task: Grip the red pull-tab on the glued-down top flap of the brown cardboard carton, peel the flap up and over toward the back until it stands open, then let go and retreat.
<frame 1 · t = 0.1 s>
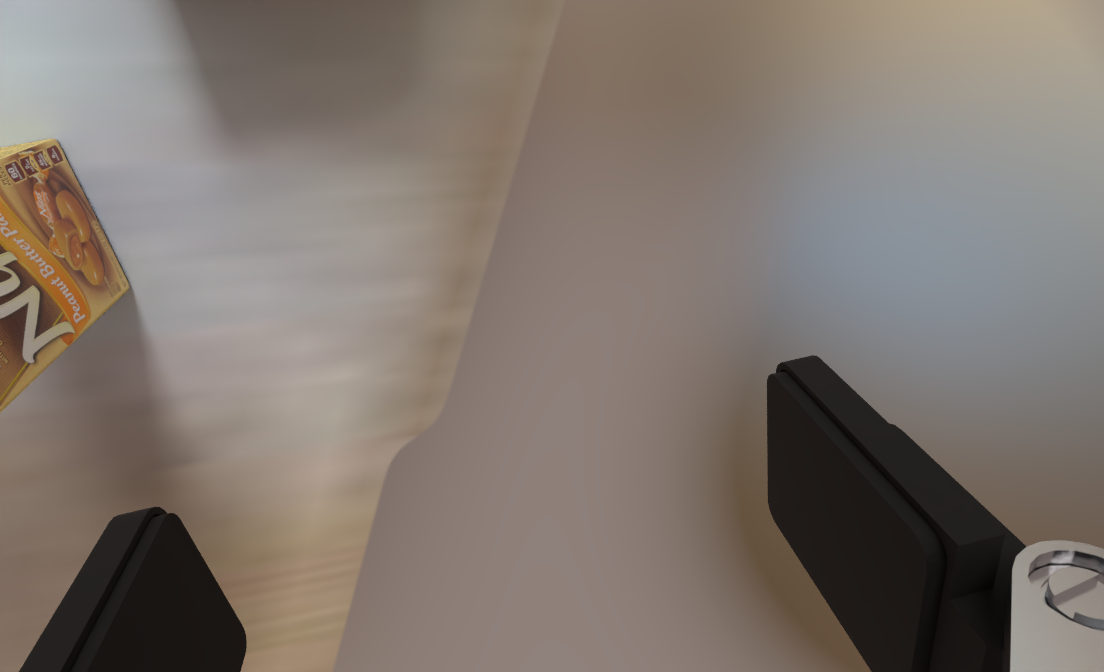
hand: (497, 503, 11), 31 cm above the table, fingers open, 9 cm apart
candy box: (61, 221, 37), on the table
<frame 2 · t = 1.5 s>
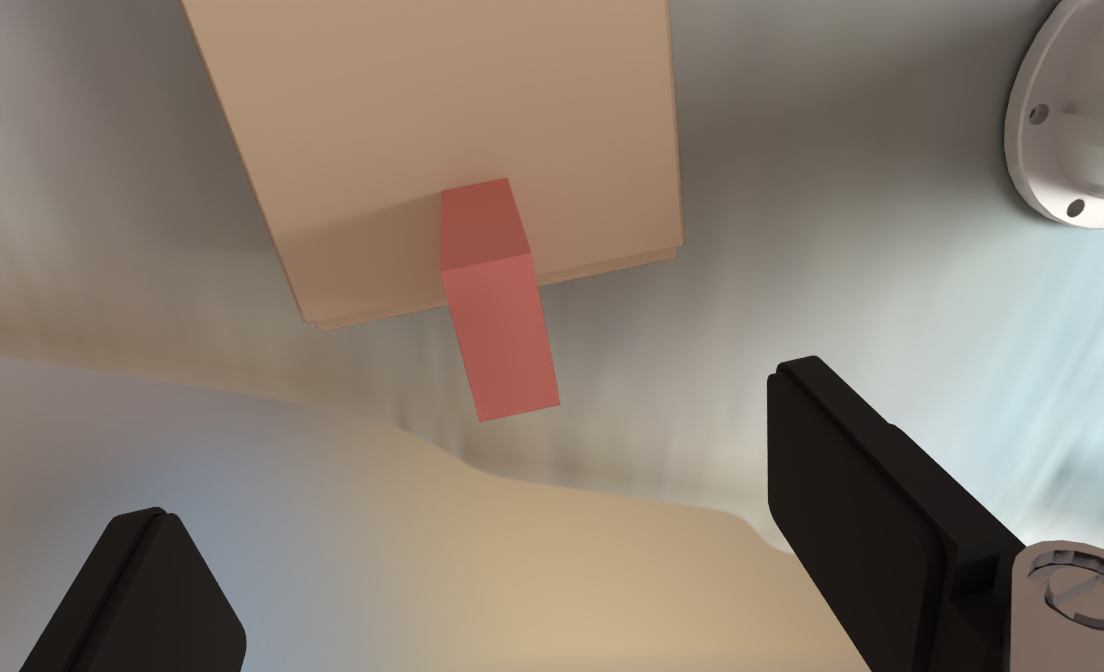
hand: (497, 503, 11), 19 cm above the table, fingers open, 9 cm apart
glued flap: (461, 134, 16), point 11 cm above the table, hinge at 0.0°
carton: (453, 69, 25), on the table
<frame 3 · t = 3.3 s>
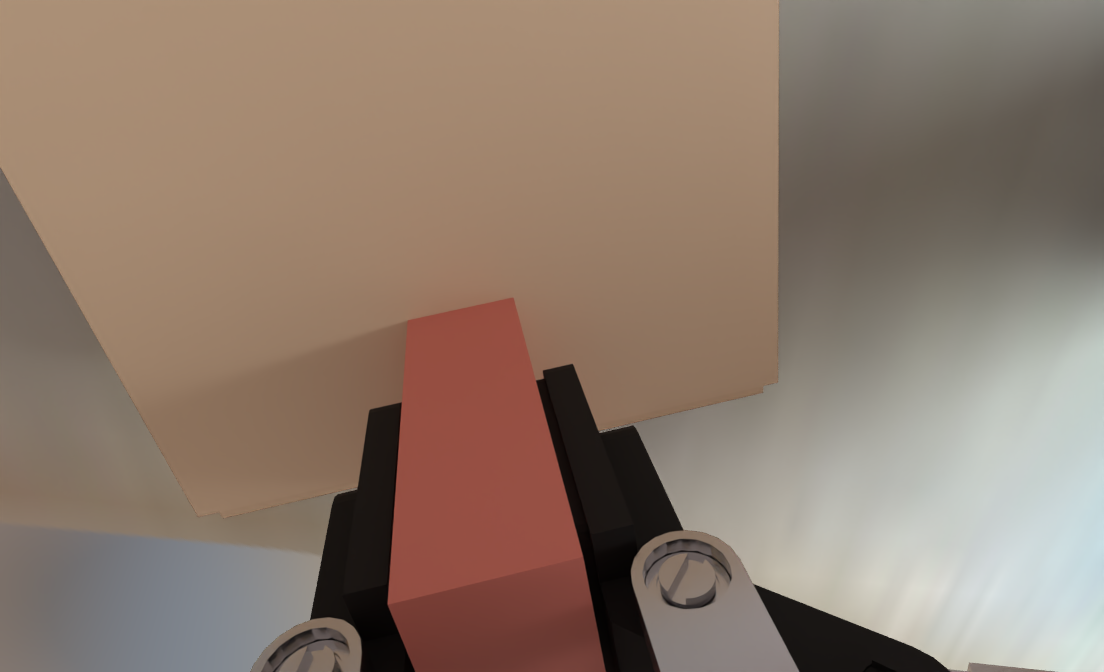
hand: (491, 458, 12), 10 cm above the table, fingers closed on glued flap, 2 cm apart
glued flap: (434, 266, 9), point 11 cm above the table, hinge at 0.0°, touching gripper
carton: (428, 107, 18), on the table
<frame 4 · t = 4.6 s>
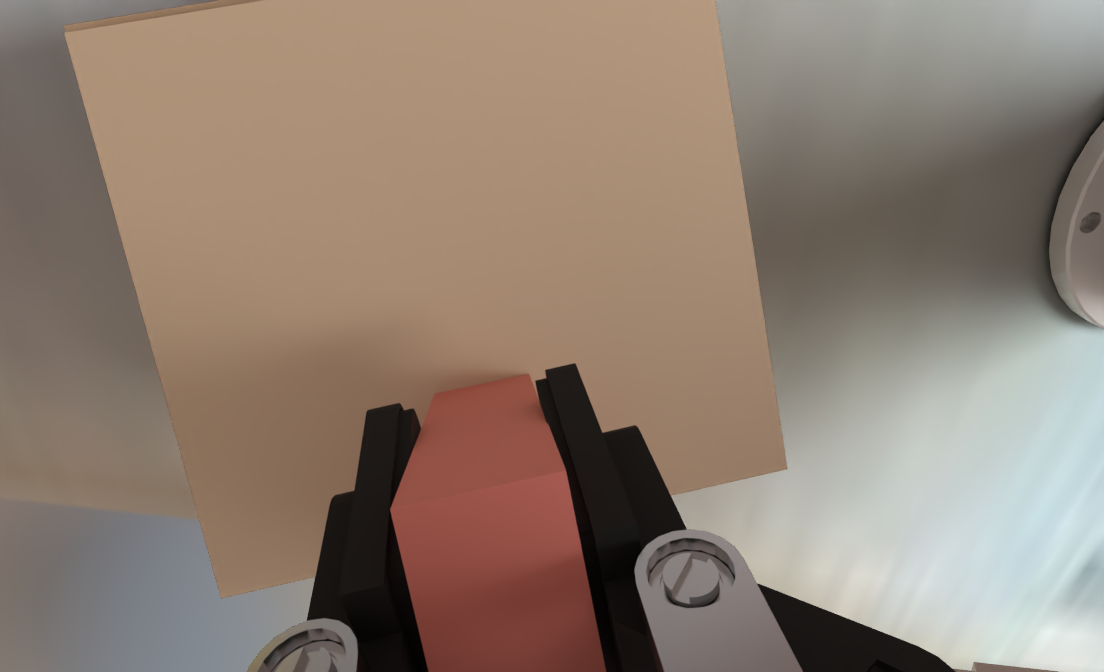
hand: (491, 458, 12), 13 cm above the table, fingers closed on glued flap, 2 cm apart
glued flap: (454, 294, 11), point 13 cm above the table, hinge at 21.2°, touching gripper
carton: (450, 177, 22), on the table
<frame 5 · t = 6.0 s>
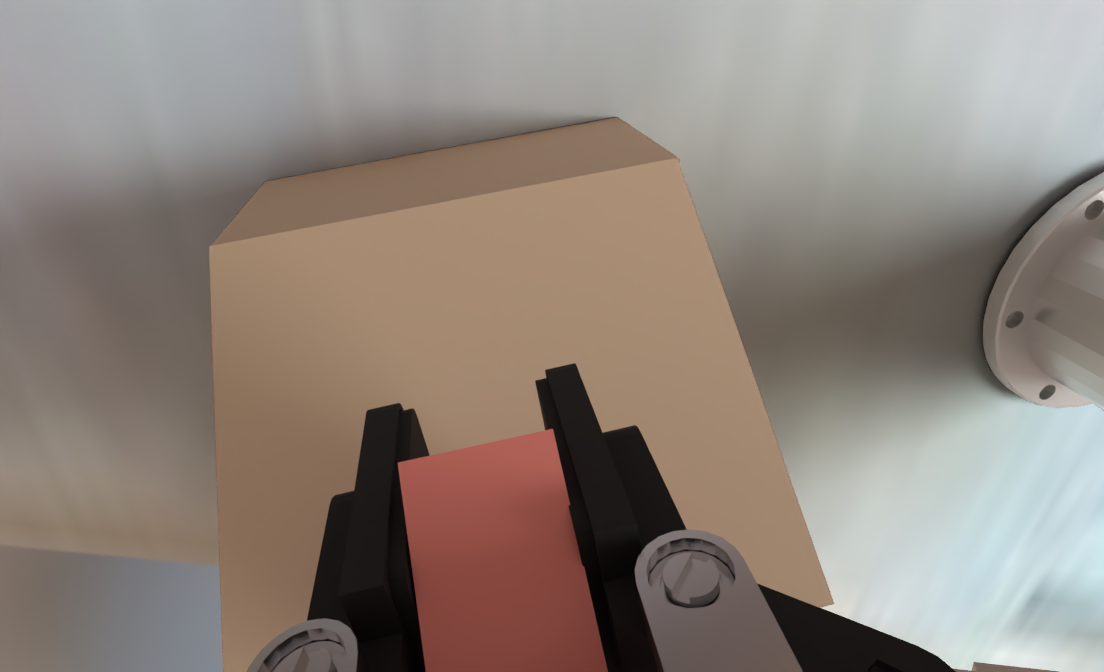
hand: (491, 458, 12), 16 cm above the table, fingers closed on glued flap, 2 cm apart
glued flap: (477, 380, 12), point 14 cm above the table, hinge at 50.0°, touching gripper
carton: (477, 295, 27), on the table
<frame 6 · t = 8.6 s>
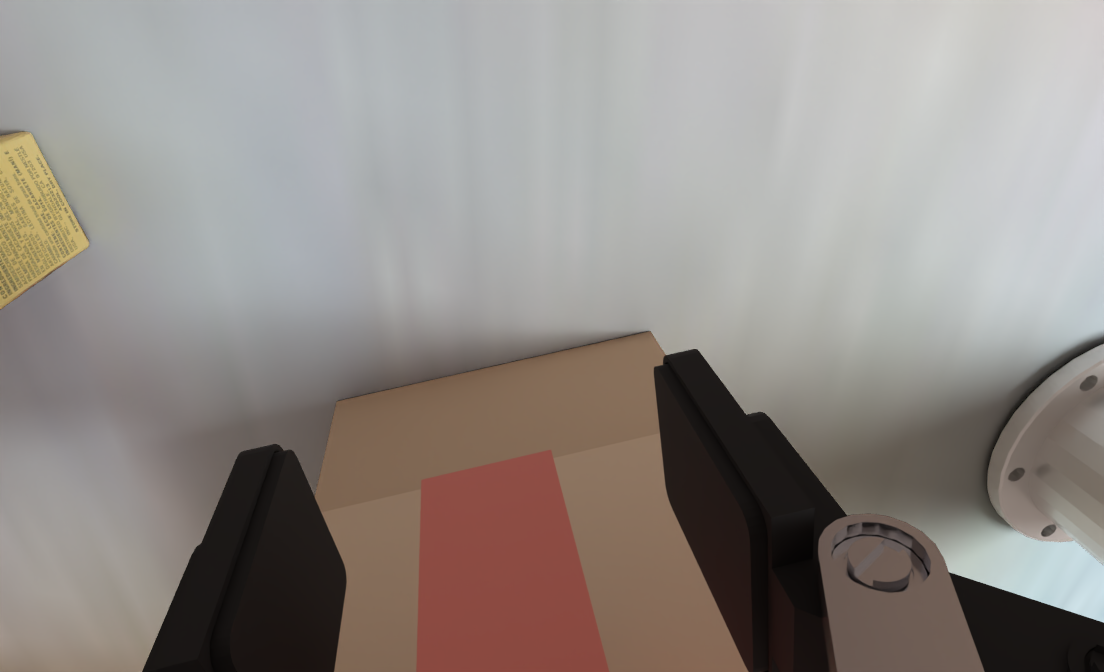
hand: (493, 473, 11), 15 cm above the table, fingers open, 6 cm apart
glued flap: (515, 537, 13), point 13 cm above the table, hinge at 90.8°
carton: (522, 478, 30), on the table
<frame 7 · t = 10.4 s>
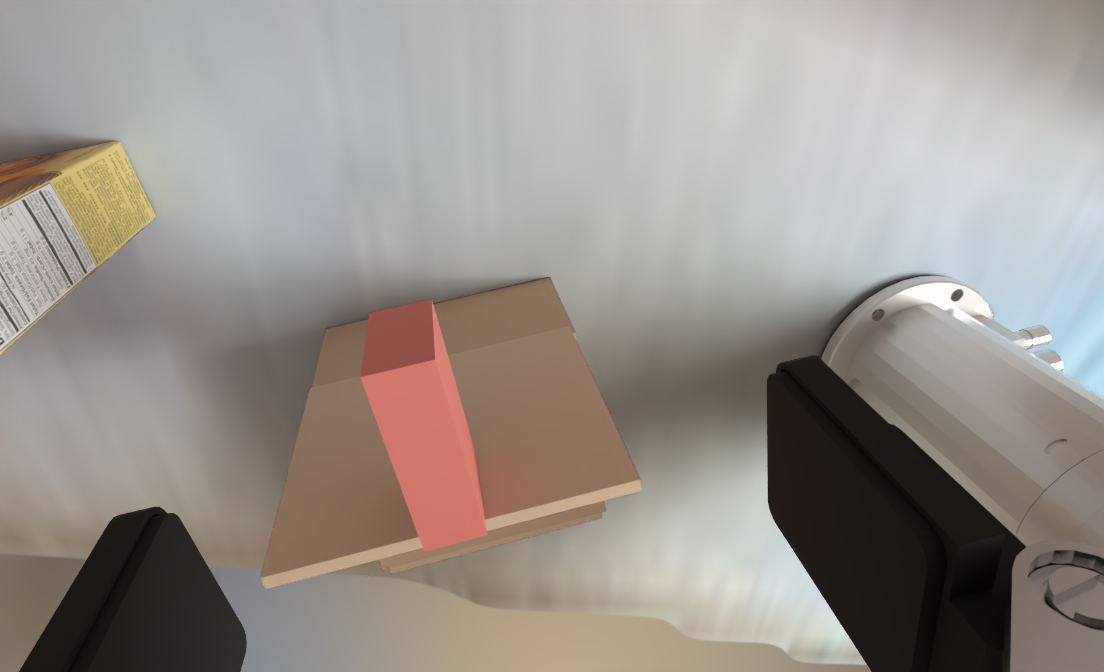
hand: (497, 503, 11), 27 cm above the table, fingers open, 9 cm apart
candy box: (49, 195, 32), on the table
glued flap: (427, 366, 25), point 13 cm above the table, hinge at 90.8°
carton: (463, 388, 41), on the table
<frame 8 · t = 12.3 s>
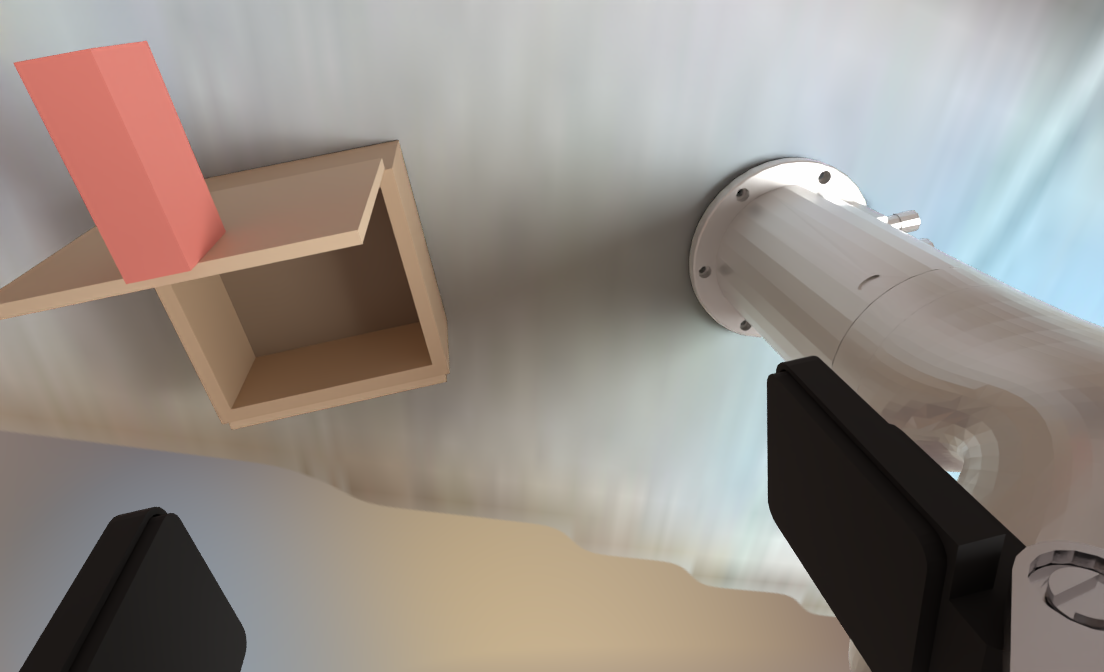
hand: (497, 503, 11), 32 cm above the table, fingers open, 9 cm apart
glued flap: (182, 144, 25), point 13 cm above the table, hinge at 90.8°
carton: (320, 258, 41), on the table
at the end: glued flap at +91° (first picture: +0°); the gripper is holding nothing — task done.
